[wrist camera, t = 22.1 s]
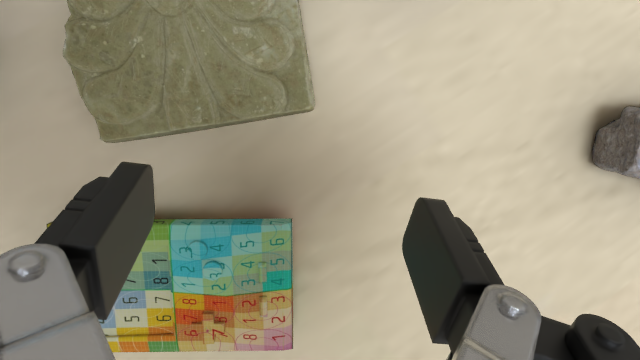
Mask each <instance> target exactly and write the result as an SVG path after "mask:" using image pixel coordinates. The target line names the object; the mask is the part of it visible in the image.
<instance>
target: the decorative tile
mask: <svg viewBox="0 0 640 360" xmlns="http://www.w3.org/2000/svg"><path fill="white" fill-rule="evenodd" d="M67 3H68V7H69V10H70V12H71V16H70V17H69V19H68V21H67V23H66V24H65V29H66V39H65V44H64V49H63V57H64V58H65V59H66V60H67V62H68V63H69V64H70V66H71V69H72V72H73V75H74V77H75V79H76V83H77V87H78V89H79V93H80V96H81V98H82V99H83V101H84V103H85V104H86V106H87V108H88V110H89V111H90V113H91V114H92V115H93V116H94V117H95V120H96V122H97V125H98V128H99V132H100V139H101V140H103V141H105V142H111V143H116V142H125V141H132V140H139V139H146V138H153V137H160V136H166V135H173V134H180V133H187V132H193V131H199V130H205V129H211V128H216V127H222V126H228V125H234V124H241V123H247V122H253V121H259V120H264V119H270V118H276V117H281V116H287V115H293V114H299V113H305V112H309V111H312V110H313V109H314V107H315V103H314V94H313V88H312V82H311V76H310V70H309V64H308V57H307V51H306V45H305V39H304V32H303V26H302V20H301V14H300V8H299V2H298V0H67Z"/></svg>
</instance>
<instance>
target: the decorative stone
mask: <svg viewBox="0 0 640 360" xmlns="http://www.w3.org/2000/svg"><path fill="white" fill-rule="evenodd" d="M593 160H594V164H595V165H597V166H598V167H599V168H601V169H604V170H608V171H613V172H618V173H620V174H622V175H626V176H631V177H636V178H640V107H639V108H638V107H632V106H629V107H626V108H624V109H623V111H622V114H621V118H620V119H618V120H614V121H612V122H611V123H609V124H607V125H606V126H604V127H602V128H600V129H599V130H598V132H597V133H596V137H595V145H594V146H593Z"/></svg>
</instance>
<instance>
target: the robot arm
mask: <svg viewBox="0 0 640 360" xmlns="http://www.w3.org/2000/svg"><path fill="white" fill-rule="evenodd" d="M154 216H155V202H154V184H153V170H152V167H151V165H146V164H138V163H129V162H122V163H120V164H119V166H118V167H117V168H116V170H115V171H114V172H113V174H112V175H111V176H110V177H109V178H108V177H98V178H97V179H95V180H93V181H91V182H89V183H88V184H86V185H84V186H83V187H82V188H81V189H80V191H79V192H78V193H77V194H76V195H75V196H74V199H73V200H71V201H70V202H69V203H68V205H67V206H66V207H65V210H63V211H62V212H61V213H60V214H59V215H58V216H57V218H56V219H55V220H54V221H53V222H52V223H51V225H50V226H49V227H48V228H47V229H46V231H45V232H44V233H43V234H42V235H41V236H40V238H39V239H38V240H37V241H36V242H35V243H34V244H30V245H25V246H20V247H17V248H14V249H12V250H9V251H7V252H5V253H3V254H2V255H0V360H115V357H114V355H113V353H112V350H111V348H110V346H109V343H108V341H107V339H106V336H105V334H104V332H103V330H102V327H101V325H100V323H99V320H107V318H108V316H109V314H110V312H111V310H112V308H113V306H114V304H115V302H116V300H117V298H118V296H119V294H120V292H121V290H122V287H123V285H124V283H125V281H126V279H127V277H128V275H129V273H130V271H131V269H132V267H133V265H134V263H135V261H136V259H137V257H138V255H139V253H140V251H141V249H142V247H143V245H144V243H145V241H146V239H147V237H148V235H149V233H150V231H151V228H152V225H153V222H154ZM402 250H403V256H404V259H405V262H406V265H407V268H408V271H409V274H410V277H411V280H412V283H413V286H414V289H415V292H416V295H417V298H418V301H419V304H420V307H421V310H422V313H423V316H424V319H425V322H426V325H427V328H428V331H429V334H430V337H431V340H432V343H437V344H449V347H450V350H451V352H450V354H449V355H448V357H447V359H446V360H640V348H639V346H638V345H637V344H636V342H635V341H634V340H633V339H632V338H631V337H630V336H629V335H628V334H627V333H626V332H625V331H624V330H623V329H621V328H620V327H619V326H617V325H616V324H614V323H612V322H611V321H609V320H607V319H605V318H602V317H600V316H597V315H592V314H582V315H579V316H578V317H577V318H576V320H575V321H574V322H573V324H572V325H571V326H570V325H567V324H564V323H561V322H558V321H555V320H552V319H549V318H546V317H543V316H541V314H540V312H539V310H538V308H537V307H536V305H535V304H534V303H533V302H532V301H531V300H530V299H529V298H528V297H527V296H525V295H524V294H523V293H521V292H519V291H518V290H516V289H514V288H511V287H508V286H505V285H504V283H503V282H502V280H501V278H500V277H499V275H498V273H497V272H496V270H495V268H494V267H493V265H492V263H491V262H490V260H489V258H488V257H487V255H486V253H484V250H483V248H482V246H481V245H480V243H478V240H477V238H476V236H475V235H474V233H473V231H472V230H471V228H470V227H469V226H467V225H466V224H465V223H464V222H463V221H462V220H461V219H460V218H458V217H454V216H453V214H452V213H451V211H450V209H449V207H448V205H447V204H446V202H445V201H444V200H438V199H430V198H419V199H418V200H417V201H416V203H415V206H414V209H413V212H412V214H411V217H410V220H409V223H408V225H407V228H406V231H405V234H404V237H403V244H402ZM98 319H99V320H98Z"/></svg>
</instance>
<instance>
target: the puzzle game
mask: <svg viewBox="0 0 640 360" xmlns="http://www.w3.org/2000/svg"><path fill="white" fill-rule="evenodd" d="M51 223H52V222H51ZM51 223H49V224H47V228H48V227H49V226H50V225H51ZM98 320H99V319H98ZM99 323H100V325H101V327H102V330H103V332H104V334H105V336H106V339H107V341H108V343H109V346H110V348H111V350H112V352H175V351H268V350H288V349H293V269H292V219H154V222H153V225H152V228H151V231H150V233H149V235H148V237H147V239H146V241H145V243H144V245H143V247H142V249H141V251H140V253H139V255H138V257H137V259H136V261H135V263H134V265H133V267H132V269H131V271H130V273H129V275H128V277H127V279H126V281H125V283H124V285H123V287H122V290H121V292H120V294H119V296H118V298H117V300H116V302H115V304H114V306H113V308H112V310H111V312H110V314H109V316H108V318H107V320H99Z"/></svg>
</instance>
